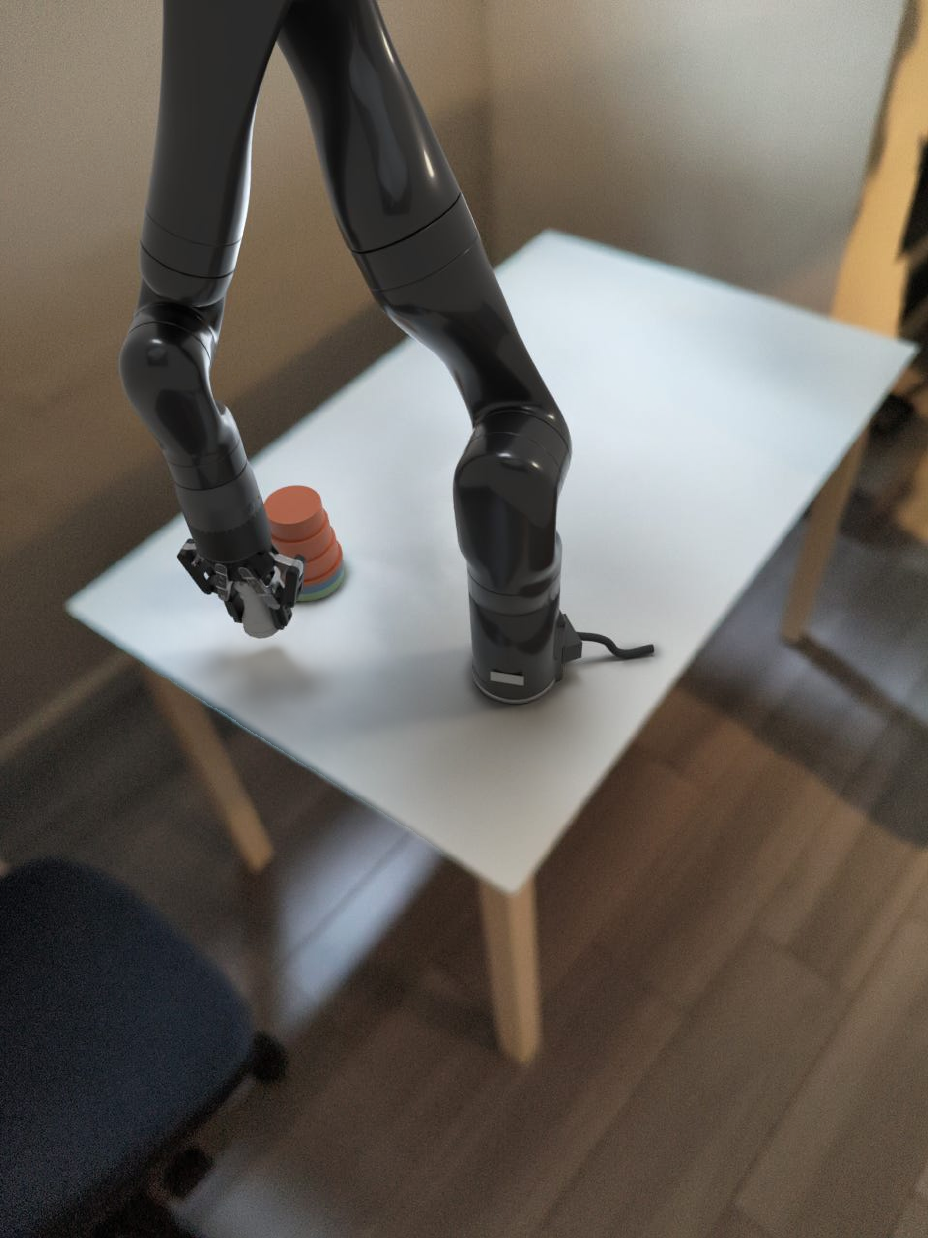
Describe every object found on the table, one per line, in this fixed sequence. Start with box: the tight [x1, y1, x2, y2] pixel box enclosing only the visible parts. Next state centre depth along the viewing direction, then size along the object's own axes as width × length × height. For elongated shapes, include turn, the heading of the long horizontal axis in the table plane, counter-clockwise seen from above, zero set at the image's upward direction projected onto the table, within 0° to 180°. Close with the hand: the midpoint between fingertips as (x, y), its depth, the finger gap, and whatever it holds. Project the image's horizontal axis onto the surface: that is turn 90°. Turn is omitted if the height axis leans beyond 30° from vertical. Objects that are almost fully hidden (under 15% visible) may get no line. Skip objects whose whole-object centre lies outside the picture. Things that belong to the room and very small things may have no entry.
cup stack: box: [263, 484, 345, 602], centre depth 108 cm, size 9×9×12 cm
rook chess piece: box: [233, 581, 280, 640], centre depth 98 cm, size 4×4×8 cm
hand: (262, 620), depth 100 cm, fingers closed on rook chess piece, 4 cm apart
